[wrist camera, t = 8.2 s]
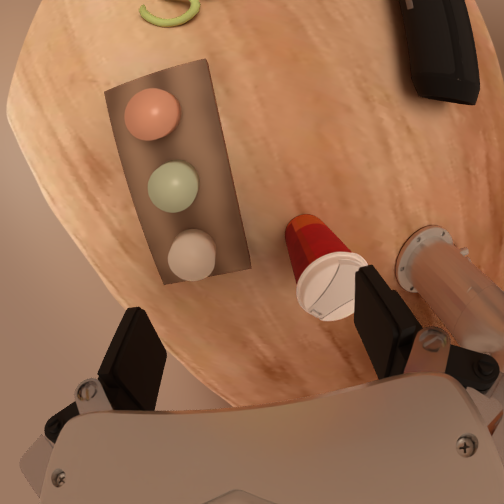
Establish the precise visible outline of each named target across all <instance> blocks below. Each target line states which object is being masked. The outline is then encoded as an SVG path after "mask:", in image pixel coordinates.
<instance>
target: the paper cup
mask: <svg viewBox="0 0 504 504" xmlns="http://www.w3.org/2000/svg"><path fill="white" fill-rule="evenodd" d="M285 239H286V244H287V248H288V252H289V256H290V260H291V264H292V268H293V272H294V276H295V280H296V284H297V288H296V296H297V300H298V302H299V304H300V306H301V307H302V308H303V309H304V310H305V311H306V312H308V313H309V314H311V315H313V316H315V317H316V318H319V319H320V320H323V321H335V320H340V319H343V318H345V317H347V316H349V315H351V314H353V313H354V303H355V272H356V271H359V268H360V267H363V266H368V264H367V262H366V261H365V259H364V258H363V257H361V256H360V255H358V254H356V253H352V252H351V251H350V250H349V249H348V248H347V247H346V246H345V244H344V243H343V242H342V241H341V240H340V239H339V238H338V237H337V236H336V235H335V234H334V233H333V232H332V231H331V230H330V229H329V228H328V227H327V226H326V225H325V224H324V223H323V222H322V221H321V220H320V219H319V218H317V217H315V216H313V215H309V214H303V215H299V216H297V217H295V218H294V219H292V220H291V221H290V223H289V224H288V226H287V228H286V231H285Z"/></svg>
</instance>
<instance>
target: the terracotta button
mask: <svg viewBox="0 0 504 504" xmlns="http://www.w3.org/2000/svg"><path fill="white" fill-rule="evenodd" d="M124 119H125V124H126V127H127V129H128V130H129V132H130V133H131V134H132V135H133V136H134V137H136V138H138V139H141V140H145V141H150V140H155V139H158V138H161V137H164V136H166V135H168V134H170V133H171V132H172V131H174V129H175V128H176V127H177V126H178V124H179V122H180V119H181V106H180V103H179V101H178V99H177V98H176V97H175V96H174V95H173V94H171V93H169V92H167V91H164V90H161V89H156V88H149V89H145V90H142V91H140V92H138V93H137V94H135V95H134V96H133V97H132V98H131V99H130V101H129V102H128V104H127V106H126V109H125V115H124Z"/></svg>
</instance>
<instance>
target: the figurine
mask: <svg viewBox="0 0 504 504" xmlns="http://www.w3.org/2000/svg"><path fill="white" fill-rule="evenodd" d="M189 1H190V3H191V6H190V8H189V10H188V11H187V12H186V13H184V14H183V15H181V16H179V17H176V18H172V19H162V18H158V17H156V16H154V15H152V14H150V13H149V12H148V11H147V10H146V7H145V5H142V6H141V7H140V9H139V12H140V14H141V16H142V17H143V18H144V19H145V20H146V21H148V22H150V23H152V24H154V25H157V26H161V27H172V26H178V25H181V24H184V23H186V22H187V21H189V20H190V19H192V18H193V17H194V16H195V15H196V14H197V13H198V12H199V9H200V5H201V4H200V2H199V0H189Z"/></svg>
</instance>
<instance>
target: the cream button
mask: <svg viewBox="0 0 504 504" xmlns="http://www.w3.org/2000/svg"><path fill="white" fill-rule="evenodd" d="M215 256H216V246H215V242H214V241H213V239H212V238H211V236H210V235H208V234H207V233H206V232H204V231H201V230H198V229H188V230H185V231H182V232H181V233H179V234H178V235H177V236H176V238H175V239H174V241H173V244H172V246H171V249H170V251H169V254H168V264H169V267H170V269H171V270H172V272H173V273H174V274H175V275H176V276H178V277H179V278H181V279H184V280H187V281H199V280H202V279H204V278H206V277H207V276H209V275H210V274H211V272H212V271H213V269H214V265H215Z"/></svg>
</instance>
